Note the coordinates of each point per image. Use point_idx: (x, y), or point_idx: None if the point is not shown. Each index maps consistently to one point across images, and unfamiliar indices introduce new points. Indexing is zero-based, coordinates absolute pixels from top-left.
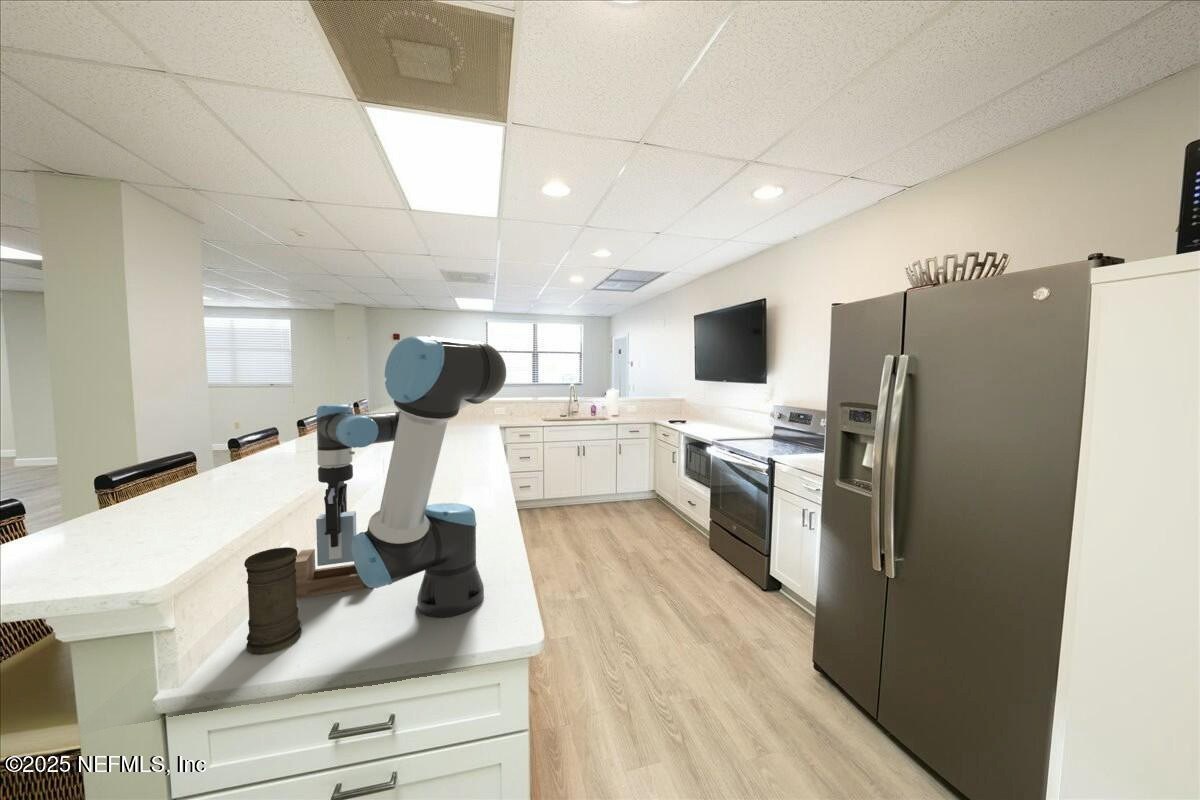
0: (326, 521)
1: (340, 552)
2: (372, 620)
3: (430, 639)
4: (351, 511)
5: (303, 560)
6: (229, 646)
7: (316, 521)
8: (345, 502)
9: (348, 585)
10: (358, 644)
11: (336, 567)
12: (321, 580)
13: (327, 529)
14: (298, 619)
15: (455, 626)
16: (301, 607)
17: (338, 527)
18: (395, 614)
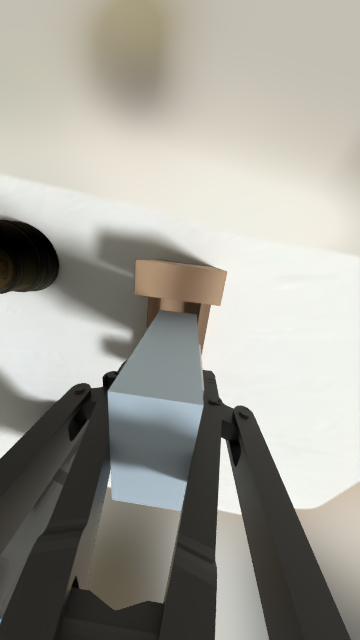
0: (26, 434)
1: None
2: (54, 363)
3: (5, 405)
4: (178, 500)
5: (139, 288)
6: (27, 193)
7: (114, 382)
8: (249, 545)
9: None
10: (6, 350)
11: (200, 330)
12: (148, 310)
13: (60, 402)
14: (26, 289)
15: (24, 425)
16: (119, 278)
17: (83, 428)
18: (62, 384)
